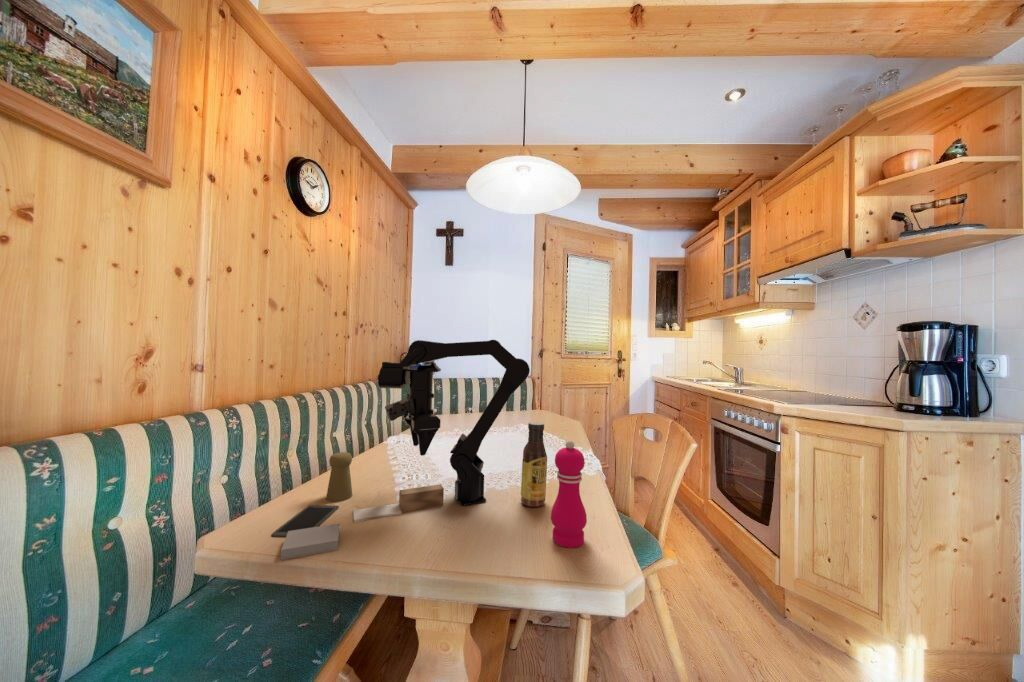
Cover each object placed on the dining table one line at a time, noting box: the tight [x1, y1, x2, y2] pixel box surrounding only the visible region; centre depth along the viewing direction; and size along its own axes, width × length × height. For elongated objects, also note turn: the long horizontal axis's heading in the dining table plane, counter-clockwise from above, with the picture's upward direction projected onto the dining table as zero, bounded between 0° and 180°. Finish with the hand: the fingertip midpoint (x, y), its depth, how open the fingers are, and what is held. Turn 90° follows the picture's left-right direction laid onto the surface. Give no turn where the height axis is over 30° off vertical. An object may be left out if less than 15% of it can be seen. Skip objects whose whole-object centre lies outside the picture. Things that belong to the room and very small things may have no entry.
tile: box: [280, 522, 340, 561], centre depth 67 cm, size 2×7×9 cm
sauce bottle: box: [520, 421, 548, 508], centre depth 89 cm, size 7×6×20 cm
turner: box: [352, 483, 445, 523], centre depth 83 cm, size 20×5×4 cm, turn 116°
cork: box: [325, 451, 353, 503], centre depth 89 cm, size 6×6×11 cm
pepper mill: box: [550, 439, 588, 549], centre depth 72 cm, size 7×7×20 cm
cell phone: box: [271, 504, 340, 538], centre depth 77 cm, size 7×14×1 cm, turn 0°
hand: (419, 450), depth 90 cm, fingers open, 9 cm apart
